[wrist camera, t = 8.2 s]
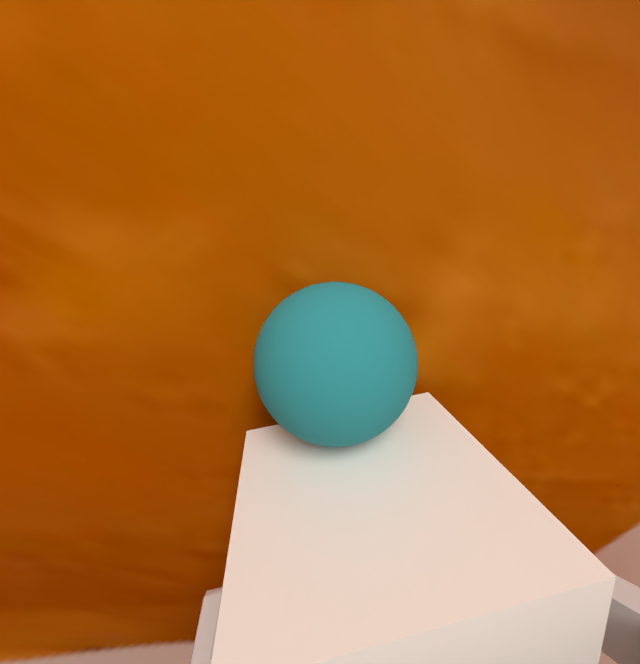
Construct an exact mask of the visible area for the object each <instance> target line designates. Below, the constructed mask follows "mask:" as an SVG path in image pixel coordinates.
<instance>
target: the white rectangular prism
mask: <svg viewBox="0 0 640 664" xmlns="http://www.w3.org/2000/svg"><path fill="white" fill-rule="evenodd" d="M615 580H616V576H615V575H614V574H613V573H612V572H611V571H609V569H608V568H606V566H604V564H603V563H602V562H600V561H599V560H598V559H597V558H596V557H595V556H594V555H593V554H592V553H591V552H590V551H589V550H588V549H587V548H586V547H585V546H584V545H583V544H582V543H581V542H580V541H579V540H578V539H577V538H576V537H575V536H574V535H573V534H572V533H571V532H570V531H569V530H568V529H567V528H566V527H565V526H564V525H563V524H562V523H561V522H560V521H559V520H558V519H557V518H556V517H555V516H554V515H553V514H552V513H551V512H550V511H549V510H548V509H547V508H546V507H545V506H543V505H542V504H541V503H540V502H539V501H538V500H537V499H536V498H535V497H534V496H533V495H532V494H531V493H530V492H529V491H528V490H527V489H526V488H525V487H524V486H523V485H522V484H521V483H520V482H519V481H518V480H517V479H516V478H515V477H514V476H513V475H512V474H511V473H510V472H509V471H508V470H507V469H506V468H505V467H504V466H503V465H502V464H501V463H500V462H499V461H498V460H497V459H496V458H495V457H494V456H493V455H492V454H491V453H490V452H489V451H487V450H486V449H485V448H484V447H483V446H482V445H481V444H480V443H479V442H478V441H477V440H476V439H475V438H474V437H473V436H472V435H471V434H470V433H469V432H468V431H467V430H466V429H465V428H464V427H463V426H462V425H461V424H460V423H459V422H458V421H457V420H456V419H455V418H454V417H453V416H452V415H451V414H450V413H449V412H448V411H447V410H446V409H445V408H444V407H443V406H442V405H441V404H440V403H439V402H438V401H437V400H436V399H435V398H434V397H433V396H432V395H430V394H429V393H428V392H427V393H422V394H418V395H413V396H411V398H410V400H409V402H408V404H407V406H406V408H405V409H404V411H403V412H402V414H401V415H400V416H399V418H398V419H397V420H396V421H395V422H394V423H393V424H392V425H391V426H390V427H389V428H387V429H386V430H385V431H384V432H382V433H381V434H379V435H378V436H376V437H374V438H372V439H370V440H368V441H365V442H362V443H359V444H356V445H352V446H345V447H327V446H321V445H316V444H312V443H309V442H306V441H304V440H302V439H299V438H297V437H296V436H294V435H292V434H291V433H289V432H288V431H286V430H285V429H284V428H283V427H281V426H280V425H279V424H277V425H273V426H268V427H263V428H259V429H254V430H249V431H247V432H246V438H245V445H244V451H243V458H242V464H241V471H240V477H239V484H238V490H237V497H236V503H235V510H234V517H233V523H232V530H231V536H230V543H229V549H228V556H227V562H226V569H225V575H224V582H223V588H222V595H221V601H220V608H219V615H218V621H217V628H216V634H215V641H214V647H213V654H212V660H211V664H598V663H599V658H600V653H601V648H602V643H603V639H604V634H605V629H606V624H607V619H608V614H609V609H610V604H611V599H612V594H613V589H614V585H615Z"/></svg>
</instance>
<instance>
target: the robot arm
mask: <svg viewBox="0 0 640 664" xmlns="http://www.w3.org/2000/svg"><path fill="white" fill-rule="evenodd" d="M615 576H616V575H615ZM222 588H223V587H219V588H215V589H211V590H207V591H206V594H205V596H204V598H203V603H202V608H201V613H200V618H199V623H198V627H197V632H196V637H195V642H194V647H193V652H192V657H191V662H190V664H211V660H212V654H213V647H214V641H215V634H216V628H217V621H218V615H219V608H220V601H221V595H222ZM601 651H602V652H604V653H605V654H606V655H607V656H609V657H610V658H611V659H613V660H614V661H615V662H617V663H618V664H640V588H639V587H637V586H635V585H633V584H631V583H629V582H628V581H626V580H623V579H622V578H620V577H618V576H616V580H615V585H614V589H613V594H612V599H611V604H610V609H609V614H608V619H607V624H606V629H605V634H604V639H603V643H602V648H601Z"/></svg>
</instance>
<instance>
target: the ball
mask: <svg viewBox="0 0 640 664" xmlns="http://www.w3.org/2000/svg"><path fill="white" fill-rule="evenodd" d="M417 361H418V360H417V351H416V347H415V343H414V339H413V336H412V334H411V331H410V329H409V327H408V325H407V324H406V322H405V320H404V319H403V317H402V316H401V314H400V313H399V312H398V311H397V310H396V308H395V307H394V306H393V305H392V304H390V303H389V302H388V301H387V300H386V299H384V298H383V297H382V296H380V295H379V294H377V293H376V292H374V291H372V290H369V289H367V288H365V287H362V286H359V285H355V284H351V283H345V282H324V283H319V284H314V285H311V286H308V287H305V288H303V289H300V290H298V291H297V292H295V293H293V294H291V295H290V296H288V297H287V298H286V299H284V300H283V301H282V302H281V303H280V304H278V305H277V306H276V307H275V308H274V310H273V311H272V312H271V313H270V314H269V316H268V317H267V319H266V321H265V322H264V324H263V326H262V328H261V330H260V332H259V335H258V337H257V341H256V344H255V349H254V356H253V373H254V379H255V384H256V387H257V390H258V393H259V396H260V398H261V400H262V402H263V405H264V406H265V408H266V409H267V411H268V412H269V413H270V415H271V416H272V417H273V418H274V420H275V421H276V422H277V423H278V424H279V425H280V426H281V427H283V428H284V429H285V430H286V431H288V432H289V433H291V434H292V435H294V436H296V437H297V438H299V439H302V440H304V441H306V442H309V443H312V444H316V445H321V446H327V447H345V446H352V445H356V444H359V443H362V442H365V441H368V440H370V439H372V438H374V437H376V436H378V435H379V434H381V433H382V432H384V431H385V430H386V429H387V428H389V427H390V426H391V425H392V424H393V423H394V422H395V421H396V420H397V419H398V418H399V416H400V415H401V414H402V412H403V411H404V409H405V408H406V406H407V404H408V402H409V400H410V398H411V396H412V393H413V390H414V387H415V384H416V378H417Z"/></svg>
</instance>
